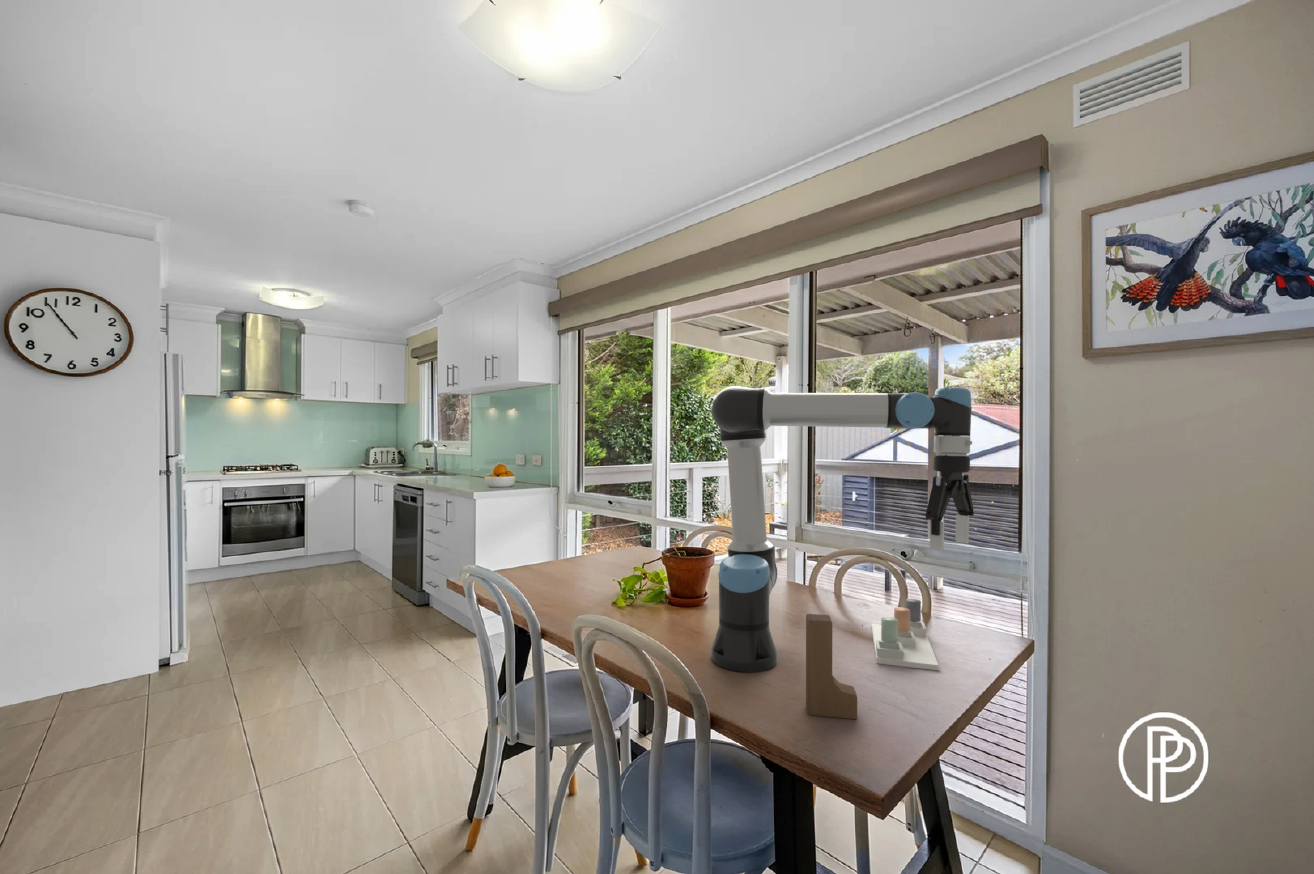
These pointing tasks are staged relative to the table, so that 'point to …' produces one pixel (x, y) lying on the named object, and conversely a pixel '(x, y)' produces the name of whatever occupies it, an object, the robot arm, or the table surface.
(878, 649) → the button board
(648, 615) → the table surface
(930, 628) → the table surface
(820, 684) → the wooden block
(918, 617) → the charcoal plunger
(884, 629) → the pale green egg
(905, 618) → the terracotta plunger
